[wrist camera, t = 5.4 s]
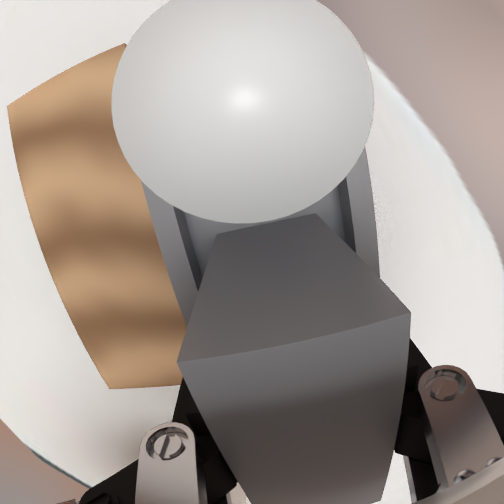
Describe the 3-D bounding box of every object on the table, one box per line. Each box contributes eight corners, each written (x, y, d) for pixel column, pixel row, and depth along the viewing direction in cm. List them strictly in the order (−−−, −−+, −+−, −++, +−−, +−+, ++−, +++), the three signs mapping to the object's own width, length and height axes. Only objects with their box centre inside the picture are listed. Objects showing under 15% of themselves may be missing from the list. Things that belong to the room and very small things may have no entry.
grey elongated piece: (361, 419, 16) (401, 533, 8) (250, 442, 17) (253, 562, 9) (316, 43, 10) (413, -83, 2) (142, 80, 10) (-2, 6, 2)
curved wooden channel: (225, 329, 29) (219, 380, 22) (131, 343, 29) (109, 388, 23) (156, 66, 21) (124, 43, 14) (56, 109, 21) (7, 106, 15)
